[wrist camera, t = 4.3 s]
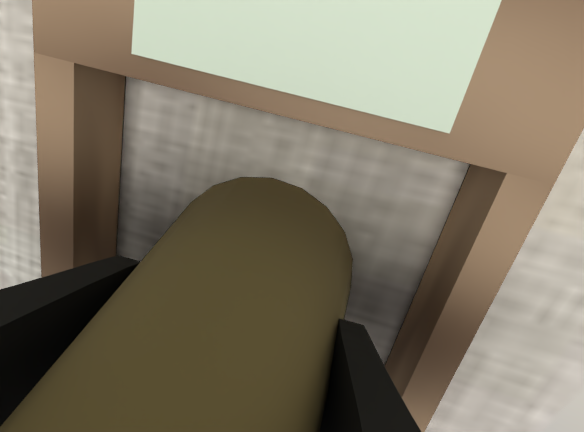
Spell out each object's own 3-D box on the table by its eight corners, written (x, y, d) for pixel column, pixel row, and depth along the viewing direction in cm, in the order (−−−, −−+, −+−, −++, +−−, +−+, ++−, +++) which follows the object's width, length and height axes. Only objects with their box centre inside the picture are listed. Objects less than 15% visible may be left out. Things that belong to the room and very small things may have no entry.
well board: (380, 444, 13) (387, 510, 11) (86, 355, 14) (40, 401, 12) (739, -322, 6) (946, -542, 4) (103, -432, 7) (-4, -670, 5)
